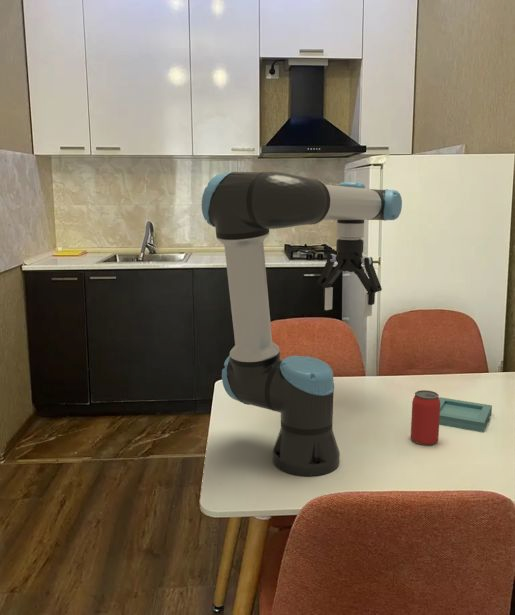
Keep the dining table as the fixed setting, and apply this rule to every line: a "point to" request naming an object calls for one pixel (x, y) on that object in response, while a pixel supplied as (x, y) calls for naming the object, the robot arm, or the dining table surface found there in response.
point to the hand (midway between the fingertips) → (347, 312)
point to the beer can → (425, 417)
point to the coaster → (464, 414)
